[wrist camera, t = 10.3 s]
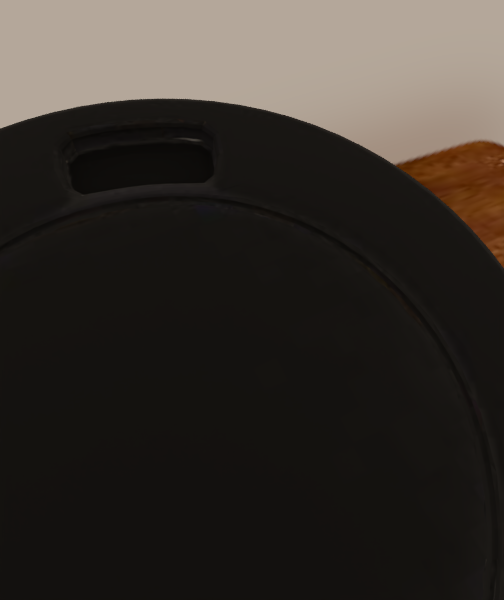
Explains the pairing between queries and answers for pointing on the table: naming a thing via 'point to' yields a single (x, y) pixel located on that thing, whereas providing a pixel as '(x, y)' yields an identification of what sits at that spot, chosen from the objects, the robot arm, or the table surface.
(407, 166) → the table surface
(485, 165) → the table surface
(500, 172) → the table surface
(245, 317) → the coffee cup
